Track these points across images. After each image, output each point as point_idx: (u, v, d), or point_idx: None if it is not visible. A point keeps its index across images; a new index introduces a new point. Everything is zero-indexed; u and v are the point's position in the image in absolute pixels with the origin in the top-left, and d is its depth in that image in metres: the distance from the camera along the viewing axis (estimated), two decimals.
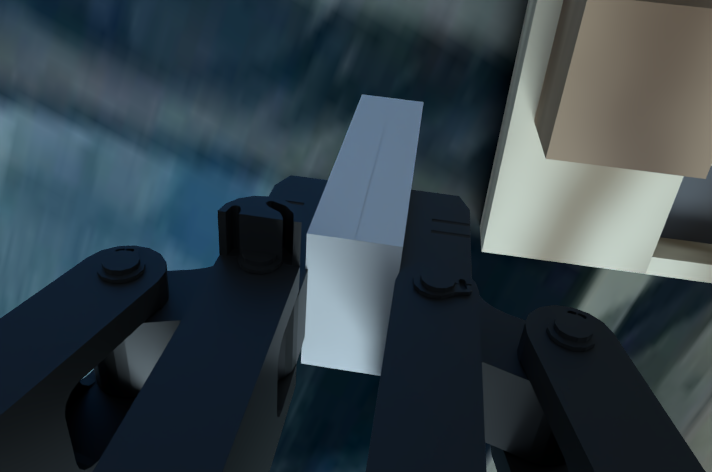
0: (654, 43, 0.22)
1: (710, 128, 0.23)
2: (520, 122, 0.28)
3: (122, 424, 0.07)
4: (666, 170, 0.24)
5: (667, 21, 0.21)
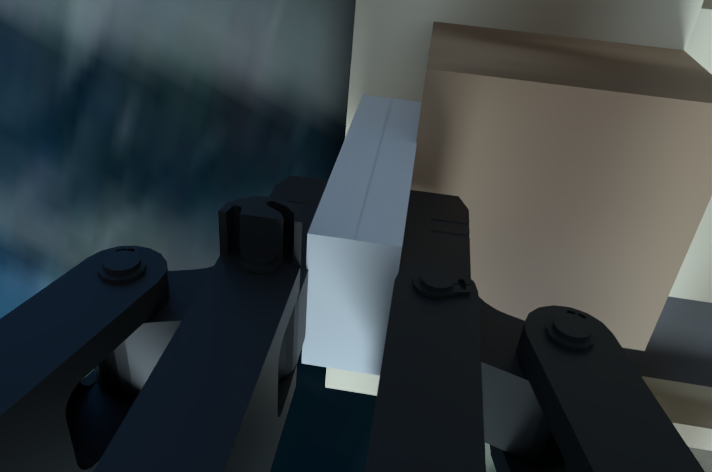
0: (546, 149, 0.13)
1: (648, 280, 0.14)
2: None
3: (122, 423, 0.07)
4: None
5: (566, 114, 0.12)
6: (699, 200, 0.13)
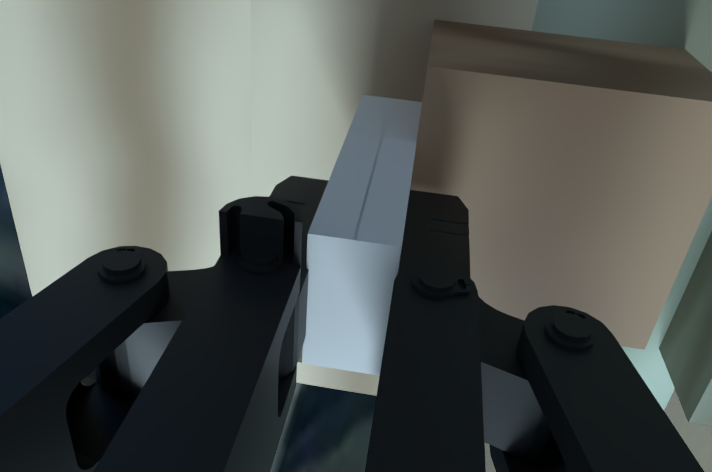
0: (546, 147, 0.13)
1: (648, 278, 0.14)
2: (16, 176, 0.20)
3: (122, 424, 0.07)
4: None
5: (567, 112, 0.12)
6: (700, 198, 0.13)
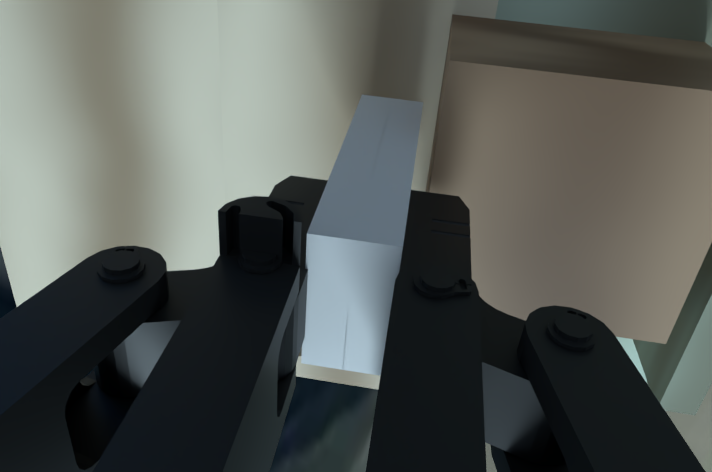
0: (569, 141, 0.12)
1: (670, 273, 0.14)
2: None
3: (121, 424, 0.07)
4: None
5: (590, 105, 0.12)
6: None
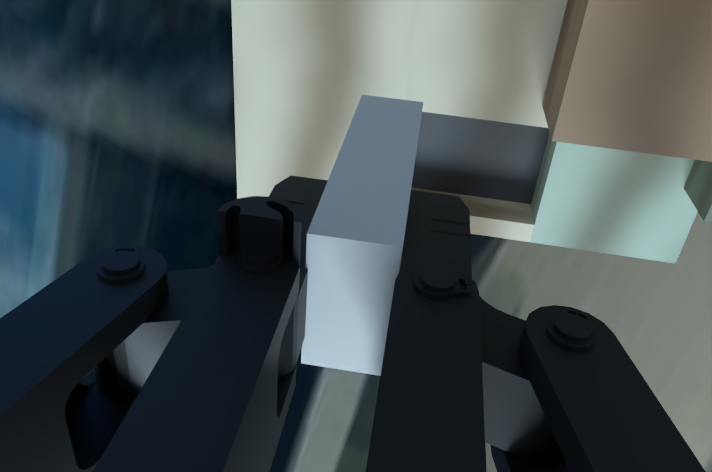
0: (662, 24, 0.21)
1: None
2: (242, 69, 0.29)
3: (122, 424, 0.07)
4: (674, 153, 0.24)
5: (676, 1, 0.21)
6: None
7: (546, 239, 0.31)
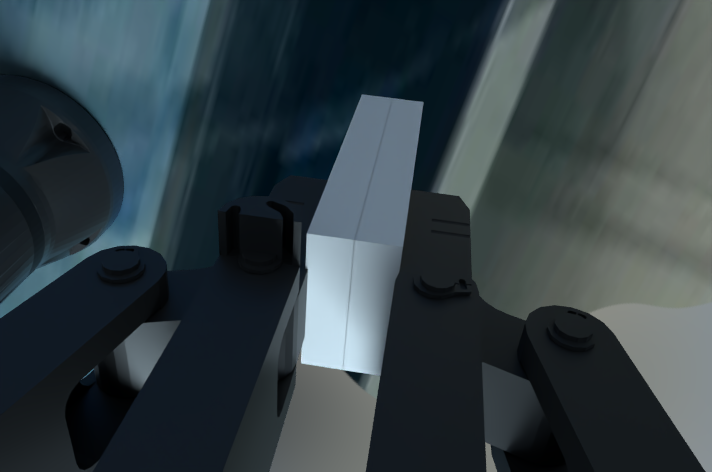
0: None
1: None
2: None
3: (121, 423, 0.07)
4: None
5: None
6: None
7: None
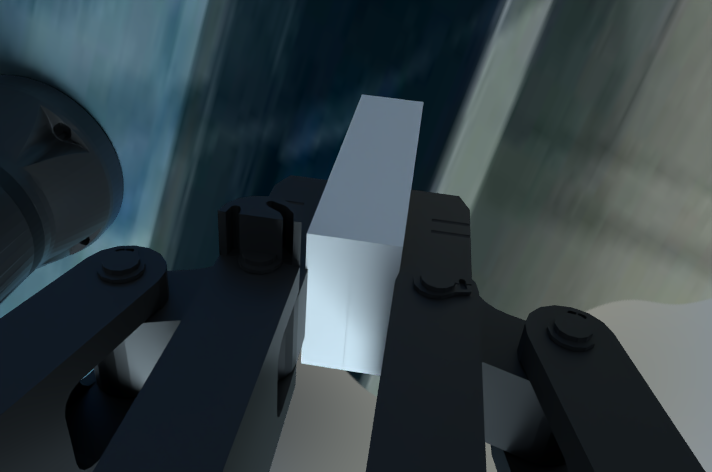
0: None
1: None
2: None
3: (122, 423, 0.07)
4: None
5: None
6: None
7: None
